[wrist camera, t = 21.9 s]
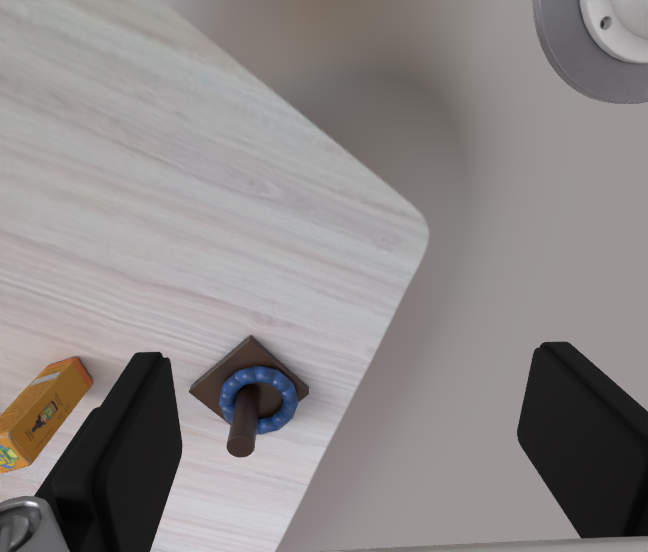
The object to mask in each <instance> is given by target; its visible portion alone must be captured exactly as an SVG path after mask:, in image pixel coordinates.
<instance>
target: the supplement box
mask: <svg viewBox="0 0 648 552" xmlns="http://www.w3.org/2000/svg"><path fill="white" fill-rule="evenodd" d="M92 384H93V381H92V379H91V378H90V377H89V375H88V374H87V372H86V371H85V369H84V367H83V366H82V364H81V363H80V361H79V359H78V358H77V357H73V358H70V359H67V360H64V361H60V362H57V363H54V364H51V365H48V366H47V367H46V368H45V369H44V370H43V371H42V372H41V373H40V374H39V375H38V376H37V377H36V378H35V379H34V380H33V381H32V383H31V384H30V385H29V386H28V387H27V388H26V389H25V390H24V391H23V392H22V393H21V394H20V395H19V396H18V397H17V398H16V400H15V401H14V402H13V403H12V404H11V405H10V406H9V407H8V408H7V409H6V410H5V411H4V412H3V413H2V414H1V415H0V473H5V472H8V471H12V470H16V469H19V468H23V467H26V466H30V465H31V464H32V463H33V462H34V461H35V459H36V458H37V456H38V455H39V454H40V452H41V451H42V450H43V448H44V447H45V446H46V444H47V443H48V442H49V440H50V439H51V438H52V436H53V435H54V434H55V432H56V431H57V430H58V429H59V427H60V426H61V425H62V423H63V422H64V421H65V420H66V418H67V417H68V416H69V414H70V413H71V412H72V410H73V409H74V408H75V406H76V405H77V404H78V402H79V401H80V400H81V398H82V397H83V396H84V395H85V393H86V392H87V391H88V390H89V388H90V387H91V386H92Z"/></svg>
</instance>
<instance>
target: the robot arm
mask: <svg viewBox="0 0 648 552" xmlns="http://www.w3.org/2000/svg"><path fill="white" fill-rule="evenodd" d="M580 8H581V12H582V16H583V20H584V23H585V25H586V27H587V29H588V31H589V33H590V35H591V37H592V38H593V39H594V41H595V42H596V43H597V44H598V46H599V47H600V48H601V49H602V50H604V51H605V52H606V53H608V54H609V55H610V56H612V57H614V58H616V59H619V60H621V61H623V62H628V63H635V64H647V63H648V0H580ZM600 23H601V27H600ZM517 436H518V441H519V443H520V445H521V447H522V448H523V450H524V452H525V453H526V455H527V456H528V458H529V459H530V461H531V462H532V464H533V465H534V467H535V468H536V470H537V471H538V473H539V475H541V477H542V479H543V481H544V482H545V484H546V485H547V487H548V488H549V490H550V491H551V493H552V494H553V496H554V497H555V499H556V501H557V502H558V503H559V505H560V506H561V508H562V509H563V511H564V513H565V514H566V515H567V517H568V519H569V520H570V522H571V523H572V525H573V527H574V528H575V529H576V531H577V533H578V534H579V536H580V537H581V539H563V540H562V539H561V540H540V541H517V542H494V543H475V544H454V545H434V546H416V547H415V546H414V547H395V548H376V549H357V550H340V551H321V552H648V411H647V410H645V409H644V408H643V407H642V406H641V405H639V403H637V402H636V401H635V400H634V399H633V398H631V396H629V395H628V394H627V393H626V392H625V391H624V390H623V389H621V388H620V387H619V386H618V385H617V384H616V383H615V382H613V381H612V380H611V379H610V378H609V377H608V376H607V375H605V374H604V373H603V372H602V371H601V370H600V369H599V368H597V367H596V366H595V365H594V364H593V363H592V362H590V360H588V359H587V358H586V357H585V356H584V355H583V354H582V353H580V352H579V351H578V350H577V349H576V348H575V347H574V346H572V345H571V344H570V343H568V342H544V343H542V344H541V345H540V348H536V349H535V351H534V354H533V358H532V363H531V367H530V372H529V377H528V382H527V387H526V392H525V396H524V401H523V405H522V411H521V415H520V420H519V424H518V429H517ZM181 455H182V438H181V431H180V424H179V417H178V410H177V403H176V397H175V390H174V383H173V376H172V369H171V363H170V359H169V358H163V356H162V354H161V353H160V352H138V353H135V354H134V356H133V357H132V359H131V360H130V362H129V363H128V365H127V366H126V368H125V369H124V371H123V372H122V374H121V375H120V377H119V379H118V380H117V382H116V383H115V385H114V386H113V388H112V389H111V391H110V392H109V394H108V395H107V397H106V398H105V400H104V401H103V403H102V405H101V406H100V407H97V408H95V409H93V410H92V411H91V413H90V414H89V415H88V417H87V418H86V420H85V421H84V423H83V424H82V426H81V427H80V429H79V430H78V432H77V433H76V435H75V436H74V438H73V439H72V440H71V442H70V443H69V445H68V446H67V448H66V449H65V451H64V452H63V454H62V455H61V457H60V458H59V460H58V461H57V463H56V464H55V466H54V467H53V469H52V470H51V472H50V473H49V475H48V476H47V478H46V479H45V481H44V482H43V484H42V485H41V486H40V488H39V489H38V491H37V492H36V494H35V495H34V496H22V497H18V498H13V499H9V500H6V501H4V502H1V503H0V552H150V550H151V547H152V544H153V541H154V538H155V535H156V532H157V529H158V526H159V523H160V520H161V517H162V514H163V511H164V508H165V505H166V502H167V499H168V496H169V492H170V489H171V486H172V483H173V480H174V477H175V474H176V471H177V468H178V465H179V462H180V459H181Z"/></svg>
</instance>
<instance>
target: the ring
mask: <svg viewBox="0 0 648 552" xmlns="http://www.w3.org/2000/svg"><path fill="white" fill-rule="evenodd" d="M254 382H261V383H266V384H271V385H272V386H273V387H275V388H276V389H277V390H278V391H280V393H281V396H282V399H283V403H282V406H281V409H280V410H279V411H278V412H277V413H275V414H274V415H273V416H270V417H266V418H262V419H258V424H257V432H256V434H265V433H269V432H273V431H277V430H279V429H281V428H282V427H283V426H284V425H285V424H287V423H288V422H289V421H290V420H291V419H292V418H293V417H294V414H295V411H296V408H297V404H298V396H297V393H296V390H295V387H294V384H293V382H292V381H291V380H290V379H288V378H287V377H286V376H285V375H283V374H282V373H281V372H280V371H278V370H276V369H272V368H266V367H261V366H254V367H250V368H246V369H242V370H239V371H237V372H235V373H234V374H233V375H232V376H231V377H230V378H229V379H228V380H227V381H226V382H225V383H224V384H223V385H222V389H221V393H220V397H219V406H220V409H221V411H222V413H223V415H224V418H225V420H226V421H227V422H229V423H230V424H231V422H232V417H233V412H234V408H235V401H234V400H235V396H236V392H237V391H238V390H240V389H241V388H242V387H243V386H244V385H247V384H250V383H254Z"/></svg>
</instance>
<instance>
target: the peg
mask: <svg viewBox="0 0 648 552" xmlns="http://www.w3.org/2000/svg"><path fill="white" fill-rule="evenodd" d="M254 366H261V367H266V368H272V369H276V370H278V371H280V372H281V373H282V374H283V375H285V376H286V377H287V378H288V379H290V380H291V381H292V382H293V384H294V387H295V390H296V393H297V396H298V402H299V401H300V400H302V399H303V398H304V397H306V396H307V395H308V394H309V387H308V386H307V385H306V384H304V383H303V382H302V381H301V380H300V379H299V378H298V377H297V376H295V375H294V374H293V373H292V372H291V371H290V370H289V369H288V368H287V367H285V366H284V365H283V364H282V363H281V362H280V361H279V360H278V359H276V358H275V357H274V356H273V355H272V354H271V353H270V352H269V351H267V350H266V349H265V348H264V347H263V346H262V345H261V344H260V343H259V342H257V341H256V340H255V339H254V338H253V337H252V336H251V335H250V336H249V337H248V338H247V339H245V340H244V341H243V342H242V343H241V344H240V345H238V346H237V347H236V348H235V349H234V350H233V351H231V352H230V353H229V354H228V355H227V356H225V357H224V358H223V359H222V360H221V361H220V362H218V363H217V364H216V365H215V366H214V367H213V368H211V369H210V370H209V371H208V372H207V373H206V374H204V375H203V376H202V377H201V378H200V379H198V380H197V381H196V382H195V383H194V384H193V385H191V387H190V390H189V393H191V394H192V395H193V396H194V397H196V398H197V399H198V400H200V401H201V402H202V403H203V404H205V405H206V406H207V407H208V408H210V409H211V410H212V411H213V412H215V413H216V414H217V415H219V416H220V417H221V418H222V419H224V420H225V418H224V415H223V413H222V411H221V409H220V406H219V397H220V393H221V389H222V385H223V384H224V383H225V382H226V381H227V380H228V379H229V378H230V377H231V376H232V375H233V374H234V373H235V372H237V371H239V370H242V369H246V368H250V367H254ZM234 401H235V408H234V412H233V417H232V422H231V424H230V423H229V422H227V421H226V420H225V421H226V422H227V423H229V424H230V425H231V427H230V432H229V436H228V441H227V450H228V452H229V453H230V454H231V455H233V456H235V457H246V456H249V455H250V454H251V453H252V452H253V451H254V448H255V440H256V435H257V434H256V432H257V424H258V419H262V418H266V417H270V416H273V415H274V414H275V413H277V412H278V411H279V410H280V409H281V406H282V403H283V399H282V396H281V393H280V391H278V390H277V389H276V388H275V387H273V386H272V385H271V384H266V383H261V382H254V383H250V384H247V385H244V386H243V387H242V388H241V389H240V390H238V391H237V392H236V396H235V400H234Z"/></svg>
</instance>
